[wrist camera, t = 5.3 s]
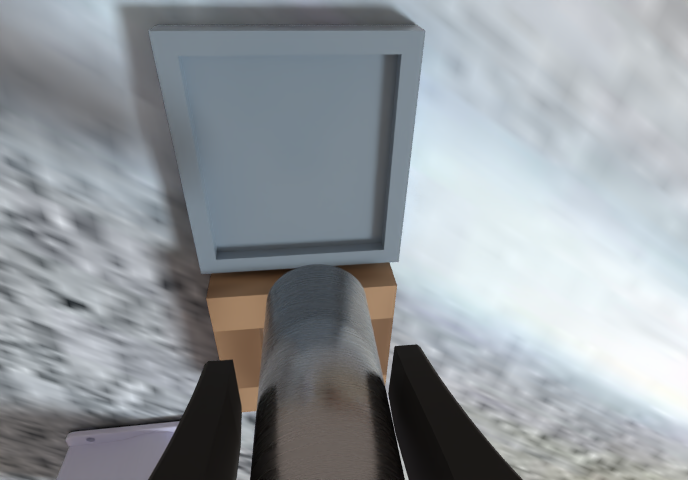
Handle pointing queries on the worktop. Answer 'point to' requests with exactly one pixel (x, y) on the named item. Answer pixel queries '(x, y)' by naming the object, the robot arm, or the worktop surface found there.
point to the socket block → (249, 316)
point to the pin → (321, 384)
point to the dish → (291, 139)
